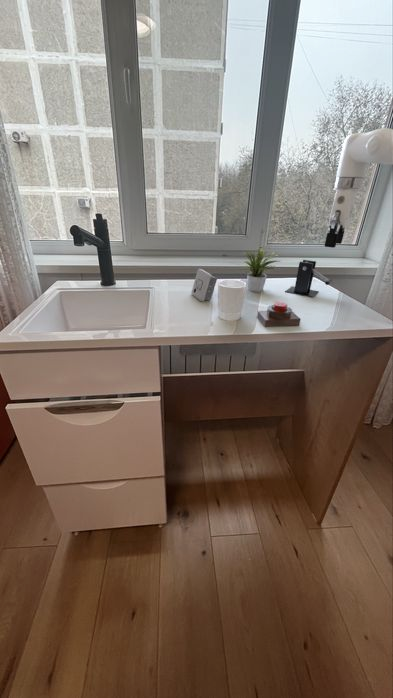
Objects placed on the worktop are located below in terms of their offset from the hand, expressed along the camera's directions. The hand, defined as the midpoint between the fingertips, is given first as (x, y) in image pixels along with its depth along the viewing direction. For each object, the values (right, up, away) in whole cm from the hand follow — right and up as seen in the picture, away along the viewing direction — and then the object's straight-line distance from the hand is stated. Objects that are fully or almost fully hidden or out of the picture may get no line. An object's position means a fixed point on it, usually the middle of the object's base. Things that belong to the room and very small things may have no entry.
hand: (333, 245), depth 94 cm
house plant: (-24, -13, +12) cm, 30 cm away
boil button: (-21, -23, -13) cm, 34 cm away
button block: (-22, -26, -12) cm, 36 cm away
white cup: (-35, -25, -9) cm, 44 cm away
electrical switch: (-43, -16, +6) cm, 46 cm away
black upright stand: (-6, -14, +11) cm, 19 cm away
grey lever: (-3, -9, +6) cm, 11 cm away
